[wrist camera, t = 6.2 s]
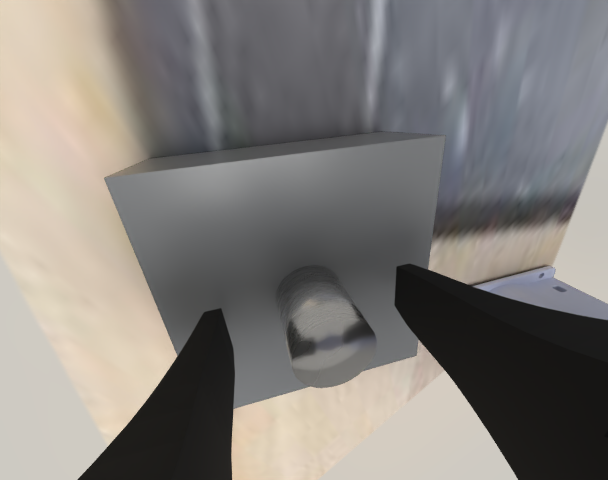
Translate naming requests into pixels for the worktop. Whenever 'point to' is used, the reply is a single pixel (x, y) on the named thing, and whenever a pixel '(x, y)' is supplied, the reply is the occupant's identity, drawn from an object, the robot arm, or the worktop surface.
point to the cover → (287, 250)
